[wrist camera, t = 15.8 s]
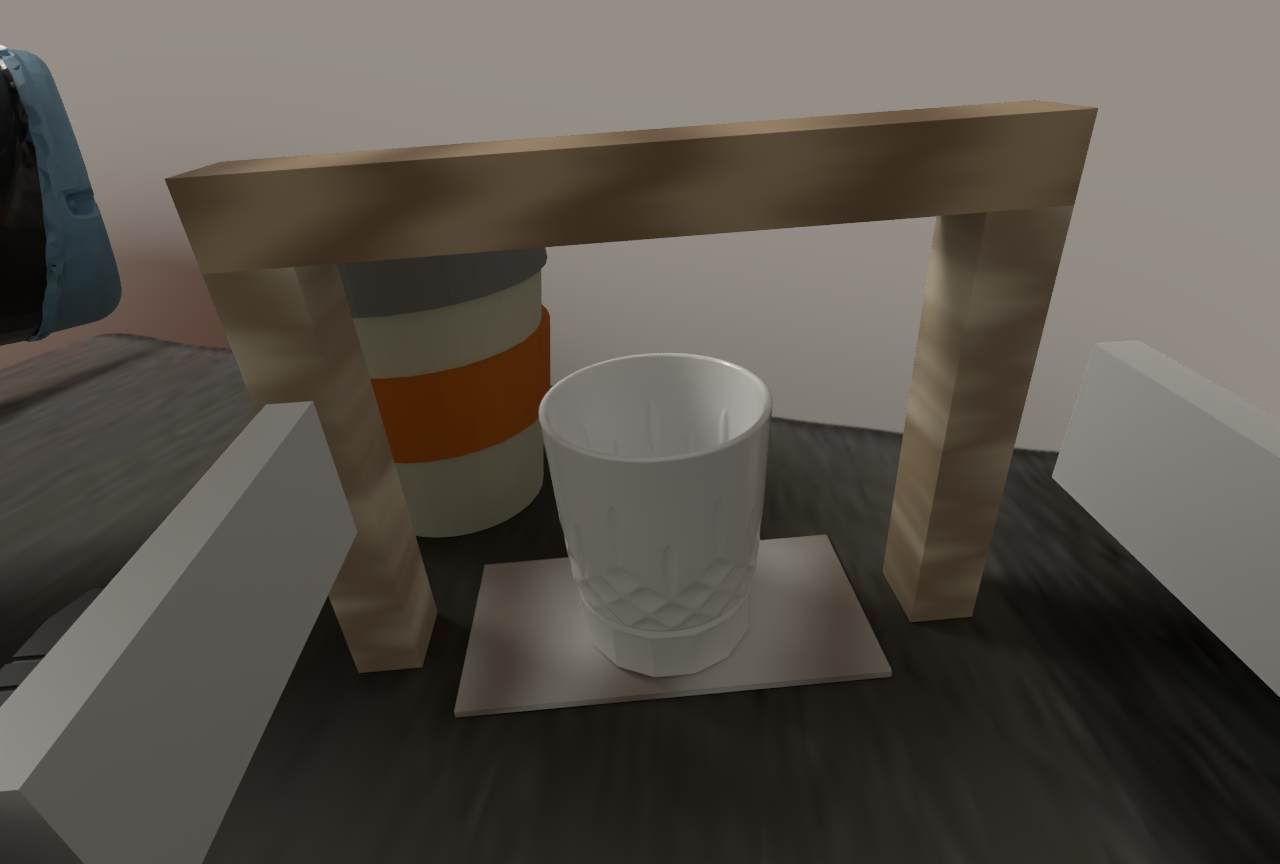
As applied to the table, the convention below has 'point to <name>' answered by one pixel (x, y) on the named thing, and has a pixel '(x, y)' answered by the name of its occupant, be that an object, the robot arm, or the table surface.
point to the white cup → (660, 503)
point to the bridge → (646, 209)
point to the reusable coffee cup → (457, 379)
